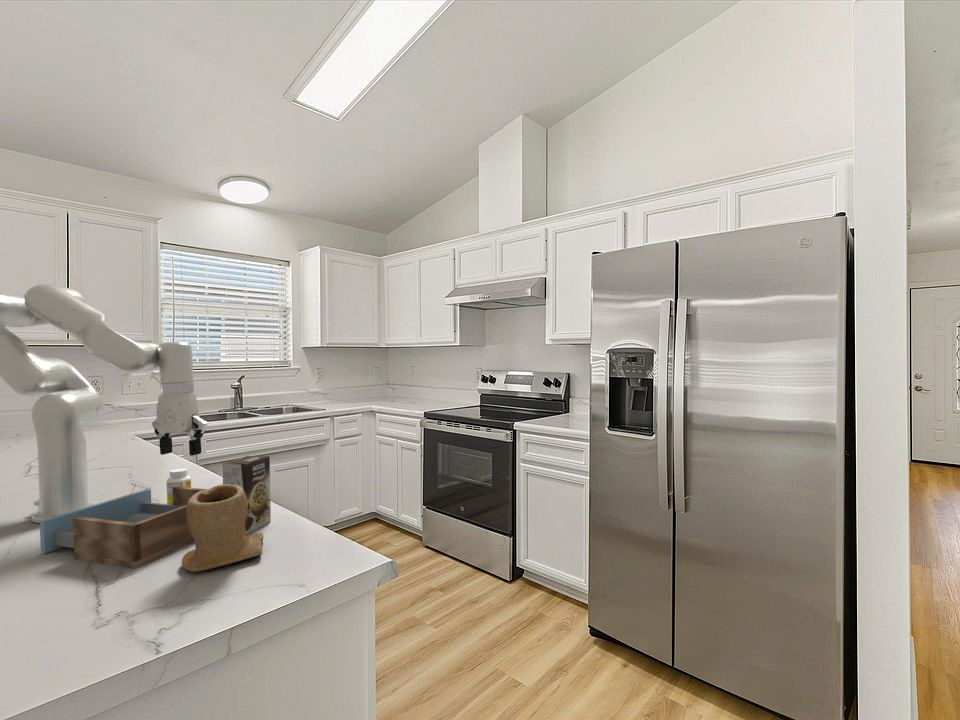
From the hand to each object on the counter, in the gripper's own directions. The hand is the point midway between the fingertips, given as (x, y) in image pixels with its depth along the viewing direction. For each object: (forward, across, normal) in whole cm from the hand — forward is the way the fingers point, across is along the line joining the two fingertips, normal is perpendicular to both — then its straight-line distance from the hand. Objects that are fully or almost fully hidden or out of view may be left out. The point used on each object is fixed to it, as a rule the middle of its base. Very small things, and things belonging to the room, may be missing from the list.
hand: (180, 454), depth 132 cm
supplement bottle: (+15, -1, 0) cm, 15 cm away
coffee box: (+15, +27, -8) cm, 32 cm away
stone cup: (+15, +37, -24) cm, 47 cm away
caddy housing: (+14, +14, -20) cm, 28 cm away
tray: (+14, +5, -19) cm, 24 cm away
